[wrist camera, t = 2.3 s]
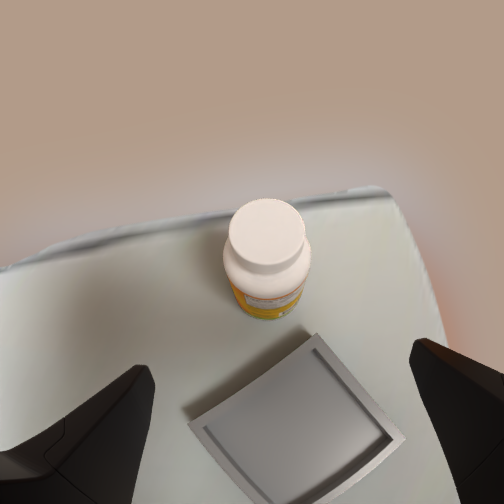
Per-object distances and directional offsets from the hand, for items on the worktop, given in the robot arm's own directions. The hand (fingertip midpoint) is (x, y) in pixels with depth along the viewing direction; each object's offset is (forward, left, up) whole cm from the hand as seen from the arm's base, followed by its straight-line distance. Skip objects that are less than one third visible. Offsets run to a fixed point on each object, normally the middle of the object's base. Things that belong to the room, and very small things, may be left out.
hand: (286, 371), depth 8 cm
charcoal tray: (-2, -5, -13) cm, 14 cm away
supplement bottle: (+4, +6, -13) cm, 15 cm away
